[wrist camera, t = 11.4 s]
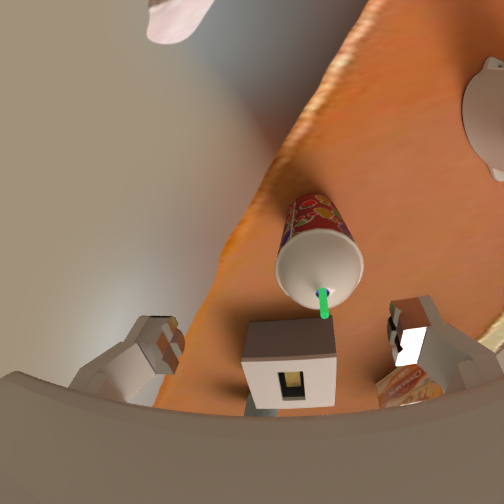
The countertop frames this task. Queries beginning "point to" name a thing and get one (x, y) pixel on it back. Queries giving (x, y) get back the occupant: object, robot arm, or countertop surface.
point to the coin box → (291, 362)
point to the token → (293, 378)
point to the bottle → (254, 412)
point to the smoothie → (317, 255)
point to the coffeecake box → (407, 387)
